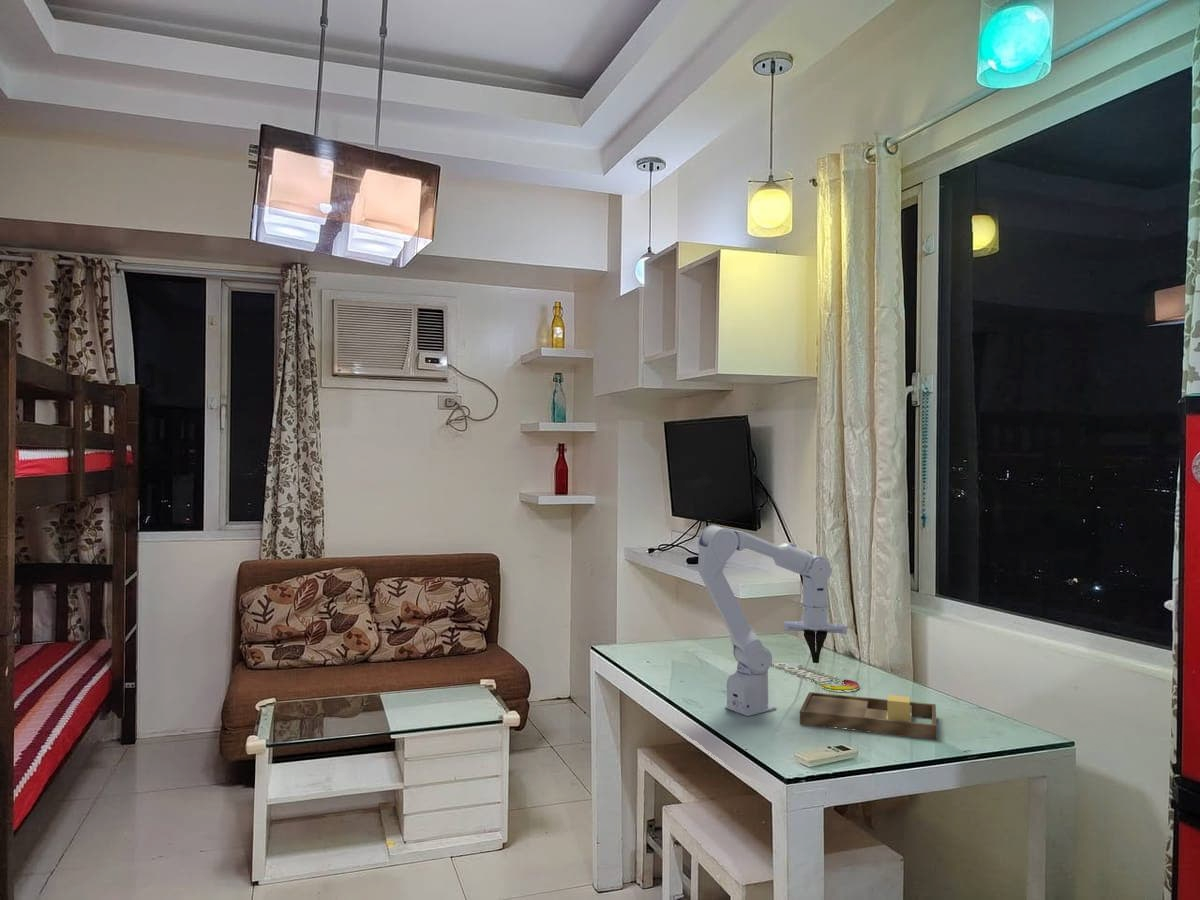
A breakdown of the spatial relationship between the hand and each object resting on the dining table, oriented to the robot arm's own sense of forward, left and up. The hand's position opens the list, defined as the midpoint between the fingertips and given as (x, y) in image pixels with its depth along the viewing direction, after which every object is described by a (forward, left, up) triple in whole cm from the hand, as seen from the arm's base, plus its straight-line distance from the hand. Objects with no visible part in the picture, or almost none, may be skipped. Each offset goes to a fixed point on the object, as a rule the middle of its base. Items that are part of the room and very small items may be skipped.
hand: (815, 662), depth 197 cm
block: (+1, -22, -8) cm, 24 cm away
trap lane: (0, -15, -10) cm, 18 cm away
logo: (+17, +16, -10) cm, 26 cm away
